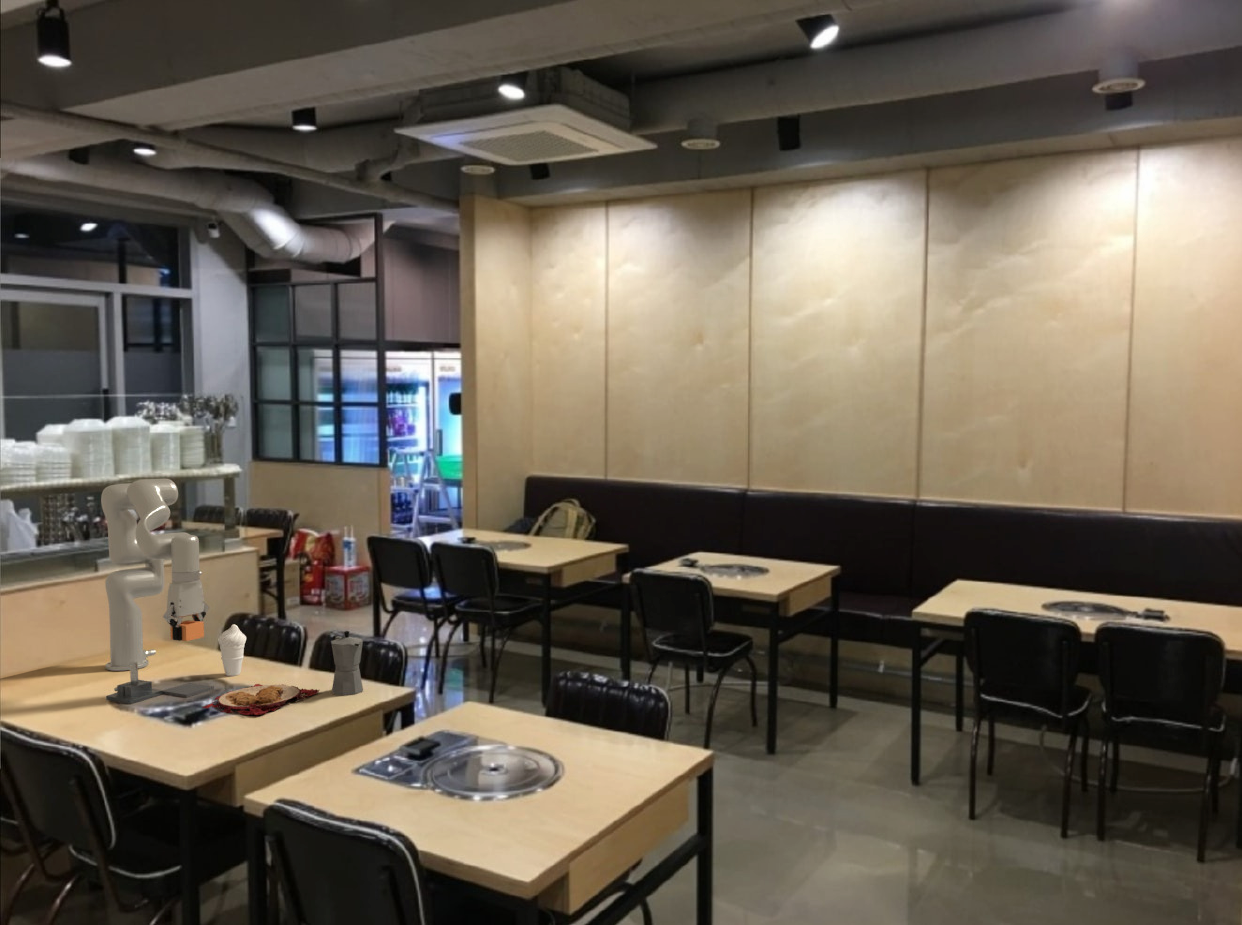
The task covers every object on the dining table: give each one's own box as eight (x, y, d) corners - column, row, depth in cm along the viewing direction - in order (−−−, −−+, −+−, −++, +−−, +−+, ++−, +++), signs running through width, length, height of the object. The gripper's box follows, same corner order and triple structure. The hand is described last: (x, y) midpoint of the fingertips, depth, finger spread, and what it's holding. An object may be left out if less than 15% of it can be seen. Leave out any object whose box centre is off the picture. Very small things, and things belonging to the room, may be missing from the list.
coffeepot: (373, 692, 294) (372, 632, 293) (344, 698, 287) (343, 636, 287) (347, 682, 305) (346, 624, 304) (318, 688, 298) (317, 628, 298)
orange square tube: (188, 635, 299) (188, 620, 299) (203, 636, 296) (203, 621, 296) (170, 639, 293) (170, 624, 293) (186, 641, 291) (186, 625, 290)
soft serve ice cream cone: (212, 676, 312) (211, 625, 312) (230, 670, 320) (229, 620, 320) (235, 678, 310) (234, 627, 309) (252, 672, 318) (251, 622, 317)
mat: (189, 685, 302) (189, 682, 302) (213, 688, 298) (213, 686, 298) (161, 693, 293) (161, 690, 293) (186, 697, 289) (186, 694, 289)
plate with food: (320, 696, 293) (320, 684, 293) (258, 718, 270) (258, 705, 269) (257, 689, 302) (256, 677, 302) (191, 709, 279) (190, 697, 279)
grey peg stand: (138, 690, 297) (138, 657, 296) (162, 694, 292) (162, 660, 292) (106, 699, 287) (105, 665, 286) (130, 704, 282) (129, 669, 282)
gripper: (200, 572, 304) (201, 631, 304) (151, 580, 288) (153, 642, 289) (218, 573, 300) (219, 633, 301) (170, 582, 285) (172, 644, 285)
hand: (187, 637), depth 295 cm, fingers closed on orange square tube, 6 cm apart
